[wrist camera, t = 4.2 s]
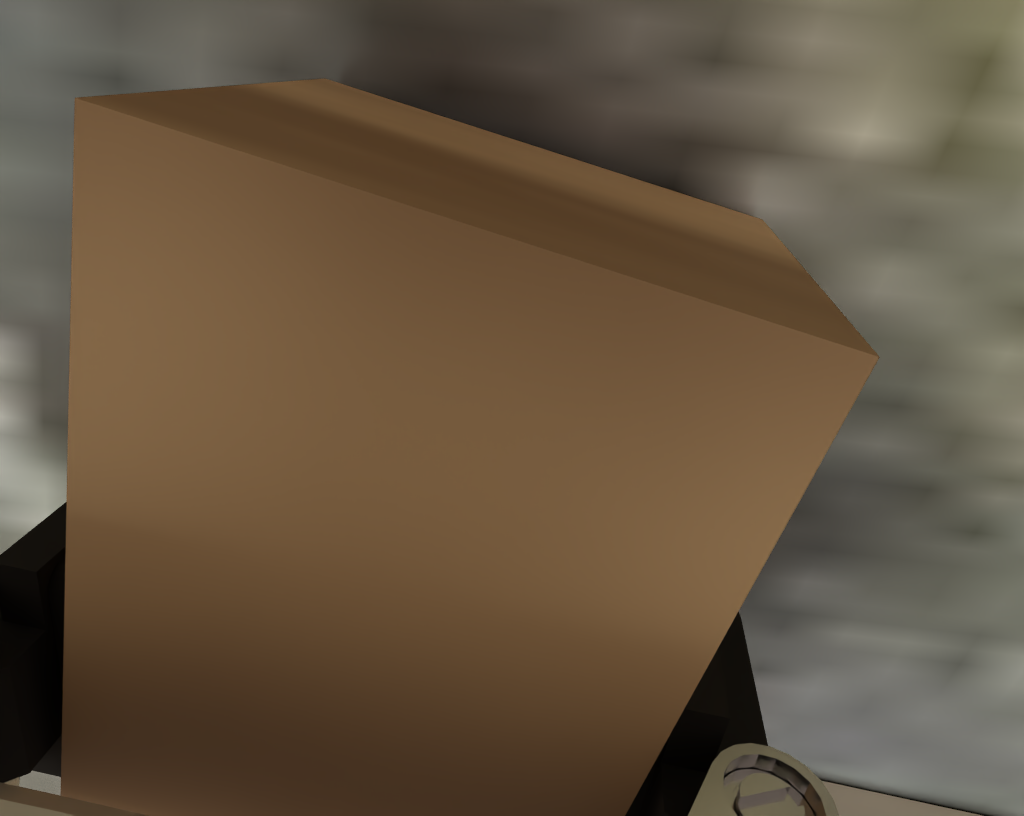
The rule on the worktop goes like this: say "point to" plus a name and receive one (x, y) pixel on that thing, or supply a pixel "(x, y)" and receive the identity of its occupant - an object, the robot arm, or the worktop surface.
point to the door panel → (409, 457)
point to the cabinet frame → (882, 804)
